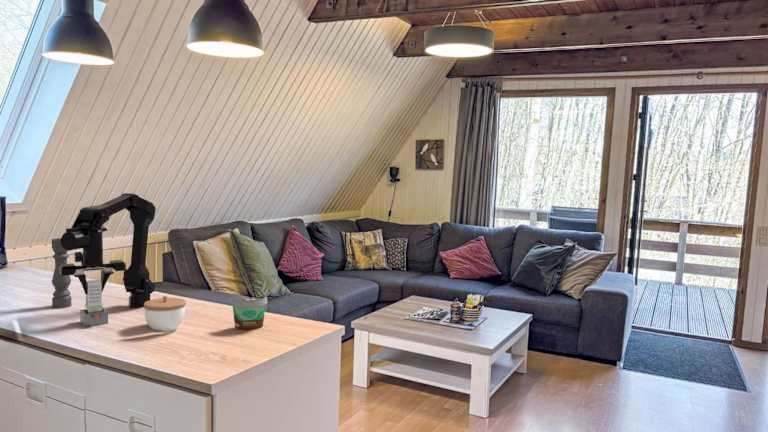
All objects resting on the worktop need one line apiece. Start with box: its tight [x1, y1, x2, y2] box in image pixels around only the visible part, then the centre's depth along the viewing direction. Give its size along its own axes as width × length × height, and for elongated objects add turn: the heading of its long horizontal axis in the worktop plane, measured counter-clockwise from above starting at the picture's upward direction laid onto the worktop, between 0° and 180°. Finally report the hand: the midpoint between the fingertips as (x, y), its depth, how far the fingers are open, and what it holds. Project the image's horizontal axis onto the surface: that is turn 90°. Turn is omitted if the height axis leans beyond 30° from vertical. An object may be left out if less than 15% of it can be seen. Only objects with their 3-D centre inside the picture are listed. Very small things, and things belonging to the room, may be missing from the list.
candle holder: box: [51, 237, 72, 309], centre depth 203 cm, size 6×6×25 cm
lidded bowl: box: [143, 295, 187, 334], centre depth 179 cm, size 13×13×11 cm
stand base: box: [79, 306, 109, 327], centre depth 181 cm, size 14×14×5 cm
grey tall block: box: [84, 279, 103, 314], centre depth 180 cm, size 4×5×10 cm
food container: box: [230, 295, 268, 331], centre depth 183 cm, size 12×6×10 cm, turn 117°
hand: (93, 293), depth 180 cm, fingers closed on grey tall block, 4 cm apart
